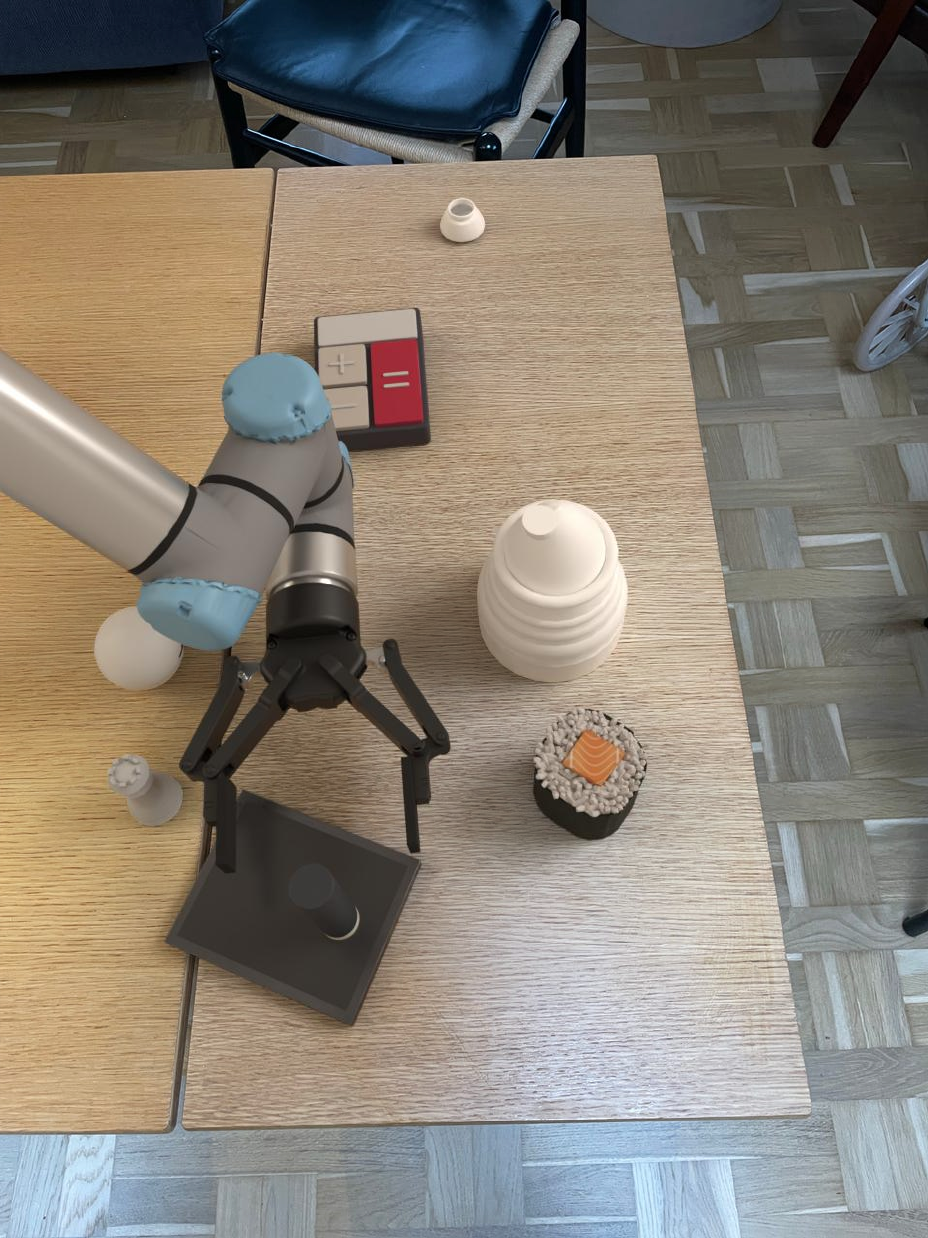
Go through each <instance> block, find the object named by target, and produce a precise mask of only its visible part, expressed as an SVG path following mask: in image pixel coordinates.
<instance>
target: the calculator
mask: <svg viewBox="0 0 928 1238" xmlns="http://www.w3.org/2000/svg"><path fill="white" fill-rule="evenodd" d="M421 315H422V314H421V310H420V309H419V308H418V307H409V308H408V307H407V308H397V309H387V310H376V311H366V312H353V313H344V314H333V315H322V316H316V317H314V320H313V343H314V344H313V345H314V346H313V347H314V348H313V349H314V350H313V351H314V354H313V355H314V370H315V371H316V373H317V374H318V376H319V378H320V381H321V384H322V387H323V390H324V393H325V396H326V397H327V398H328V400H329V402H330V404H331V409H332V410H331V413H332V417H333V421H334V425H335V430H336V434H337V438H338V440H340V441H342V442H343V443H344V444H345V446H346V447H347V450H348V452H356V451H367V450H377V449H378V450H379V449H389V448H400V447H410V446H412V447H413V446H422V445H423V446H424V445H428V444H430V443H431V442H432V436H431V423H430V412H429V411H430V409H429V400H428V399H429V397H428V386H427V373H426V361H425V360H426V358H425V345H424V331H423V325H422V324H423V323H422V316H421Z"/></svg>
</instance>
